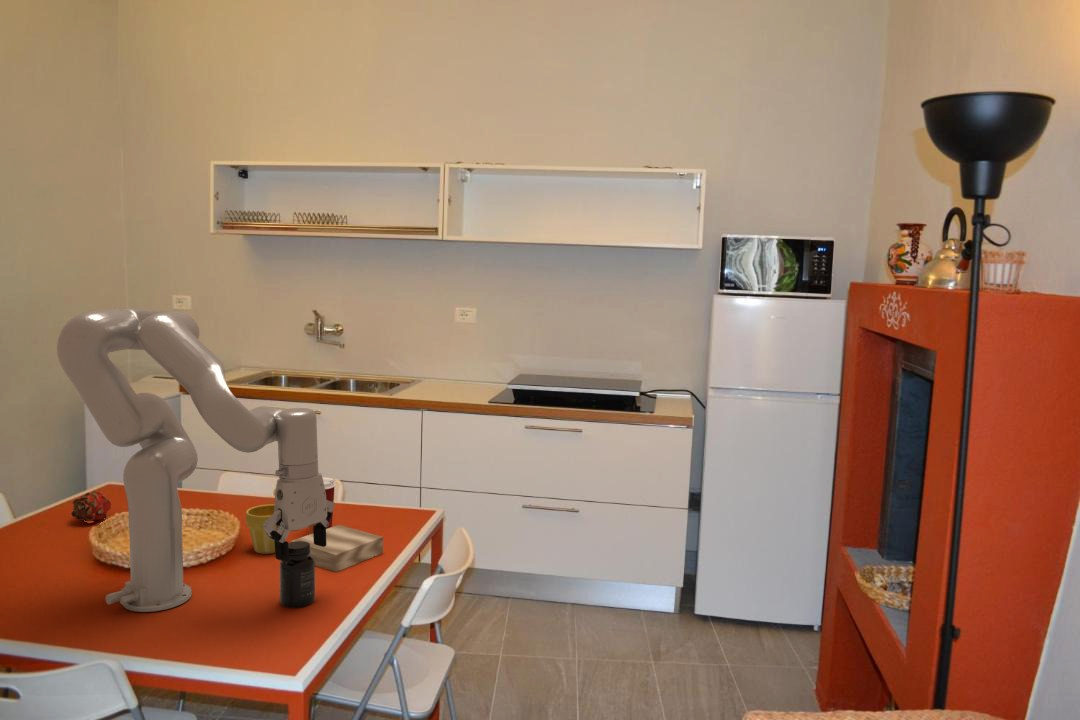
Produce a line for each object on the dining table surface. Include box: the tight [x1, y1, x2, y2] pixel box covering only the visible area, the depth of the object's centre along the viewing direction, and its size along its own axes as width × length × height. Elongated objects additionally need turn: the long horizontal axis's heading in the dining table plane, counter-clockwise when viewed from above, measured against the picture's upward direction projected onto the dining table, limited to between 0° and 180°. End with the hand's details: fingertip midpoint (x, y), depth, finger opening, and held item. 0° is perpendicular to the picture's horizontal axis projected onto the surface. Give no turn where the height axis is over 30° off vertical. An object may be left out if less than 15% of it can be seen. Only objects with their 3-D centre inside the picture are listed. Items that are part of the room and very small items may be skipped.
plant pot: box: [245, 503, 283, 555], centre depth 186 cm, size 10×10×10 cm
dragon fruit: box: [71, 490, 112, 521], centre depth 202 cm, size 8×8×12 cm
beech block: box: [290, 524, 384, 573], centre depth 184 cm, size 15×15×4 cm
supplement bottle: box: [279, 541, 316, 609], centre depth 157 cm, size 7×7×12 cm
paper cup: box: [307, 476, 337, 535], centre depth 198 cm, size 8×8×14 cm
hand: (301, 552), depth 157 cm, fingers open, 9 cm apart
